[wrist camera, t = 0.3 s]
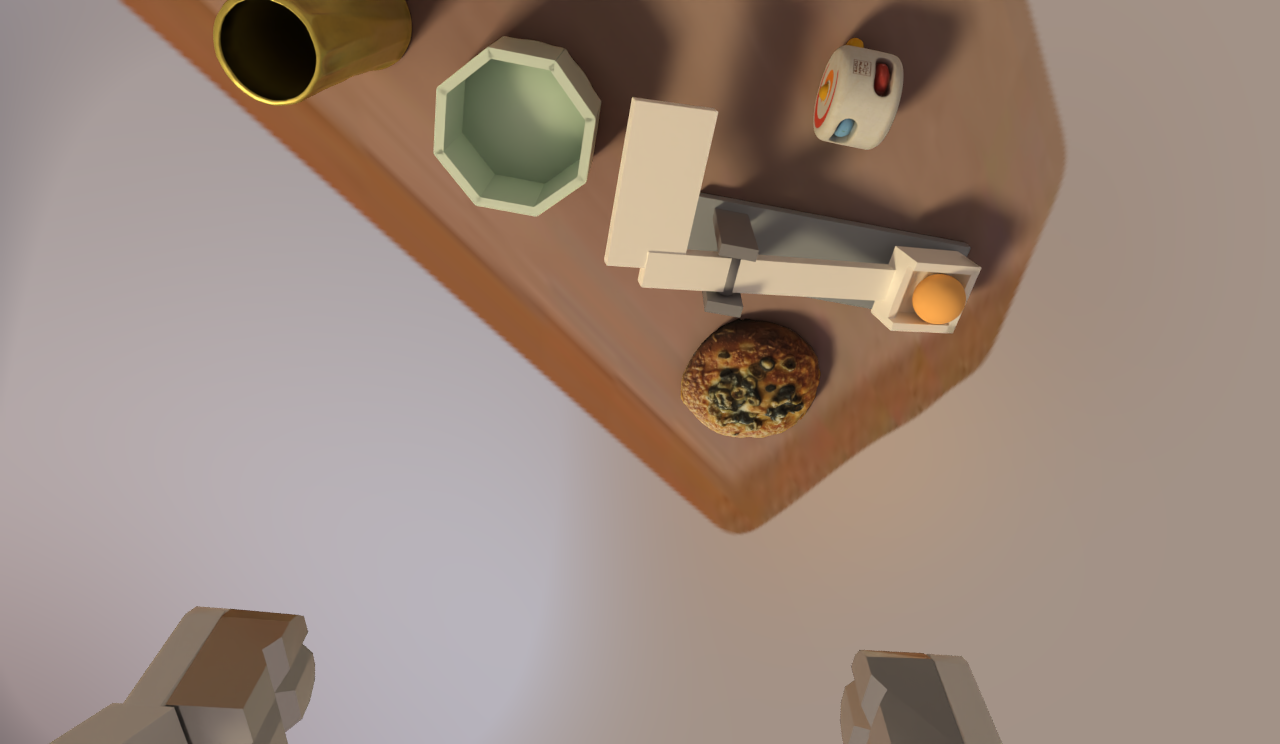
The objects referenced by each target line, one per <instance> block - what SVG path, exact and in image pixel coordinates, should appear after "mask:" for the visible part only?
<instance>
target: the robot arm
mask: <svg viewBox="0 0 1280 744" xmlns="http://www.w3.org/2000/svg"><path fill="white" fill-rule="evenodd" d="M307 633H308V630H307V626H306V623H305V619H304V616H300V615H292V614H281V613H270V612H259V611H248V610H237V609H223V608H210V607H198V606H197V607H195V608H194V609H192V610H191V611H189V612H188V613H187V614H185V615H184V617H183V618H182V619H181V621H180V622H179V624H178V625H177V627H176V628H175V630H174V631H173V632H172V634H171V635H170V637H169V638H168V640H167V641H166V642H165V644H164V645H163V647H162V648H161V650H160V651H159V653H158V654H157V655H156V657H155V658H154V660H153V661H152V663H151V664H150V666H149V667H148V668H147V670H146V671H145V673H144V674H143V676H142V677H141V678H140V680H139V681H138V683H137V684H136V686H135V687H134V689H133V690H132V692H131V693H130V694H129V696H128V697H127V699H126V700H125V702H124V703H123V704H121V703H120V704H119V703H112V704H110V705H109V706H107V707H106V708H104V709H102V710H101V711H99V712H98V713H96V714H95V715H93V716H91V717H90V718H88V719H87V720H85V721H84V722H82V723H81V724H79V725H77V726H76V727H74V728H73V729H72V730H70V731H68V732H66V733H65V734H63V735H62V736H60V737H59V738H57V739H56V740H54V741H52V742H51V743H50V744H288V742H287V739H286V734H285V732H286V731H287V730H289V729H290V728H291V727H293V726H294V725H295V724H296V723H297V722H299V721H300V720H301V719H302V718H303V715H304V713H305V710H306V708H307V706H308V704H309V701H310V698H311V694H312V689H313V685H314V681H315V662H314V657H313V653H312V652H311V651H310V650H309V649H308V648H307V647H306V646H304V645H303V644H302V643H303V641H304V639H305V637H306V635H307ZM851 667H852V672H853V675H854V681H853V682H851V683H850V684H849V685H847V686H845V689H844V693H843V697H842V700H841V714H840V715H841V716H840V724H841V732H842V739H843V744H1002V741H1001V739H1000V737H999V734H998V732H997V730H996V728H995V725H994V723H993V720H992V718H991V716H990V713H989V711H988V709H987V706H986V704H985V702H984V699H983V697H982V695H981V693H980V690H979V688H978V685H977V683H976V681H975V678H974V676H973V674H972V671H971V669H970V667H969V664H968V662H967V661H966V660H965V659H964V658H963V657H962V656H950V655H934V654H924V653H909V652H889V651H870V650H859V651H858V653H857V654H856V655H855V657H854V660H853V663H852V666H851Z"/></svg>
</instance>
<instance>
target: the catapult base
mask: <svg viewBox="0 0 1280 744" xmlns="http://www.w3.org/2000/svg"><path fill="white" fill-rule="evenodd" d="M895 246H902V247H914V248H926V249H937V250H949V251H958V252H960V253H961V254H963V255H964V256H965V257H967V255H968V253H969V251H970V248H971V247H970V246H969V245H968V244H967V243H965V242H959V241H954V240H949V239H944V238H938V237H933V236H928V235H922V234H917V233H912V232H907V231H901V230H896V229H891V228H885V227H880V226H875V225H870V224H864V223H859V222H854V221H848V220H843V219H838V218H833V217H827V216H822V215H817V214H811V213H806V212H801V211H796V210H790V209H785V208H780V207H775V206H769V205H764V204H759V203H753V202H748V201H743V200H738V199H732V198H727V197H722V196H716V195H711V194H706V193H701V192H700V194H699V198H698V203H697V207H696V212H695V216H694V220H693V225H692V229H691V233H690V238H689V242H688V247H687V249H690V250H703V251H717V252H718V254H719V255H720V256H725V257H731V258H736V259H742V260H747V261H753V262H756V259H757V256H758V255H770V256H783V257H797V258H810V259H823V260H837V261H850V262H864V263H877V264H889V262H890V259H891V257H892V254H893V251H894V248H895ZM702 293H703V302H704V310H705V312H711V313H716V314H722V315H727V316H733V317H739V318H740V317H741V313H742V309H743V304H742V299H741V295H740V293H733V295H730V296H726V295H722V294H719V293H718V292H715V291H702ZM808 298H814V299H819V300H825V301H830V302H836V303H842V304H847V305H853V306H858V307H864V308H869V309H872V307H873V305H874V302H875V301H873V300H855V299H838V298H820V297H808Z"/></svg>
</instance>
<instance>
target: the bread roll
mask: <svg viewBox="0 0 1280 744" xmlns="http://www.w3.org/2000/svg"><path fill="white" fill-rule="evenodd" d="M820 375H821V374H820V370H819V367H818V358H817V356H816V354H815V353H814V351H813V349H812V348H811V347H810V345H808V344H807V343H806V342H805V341H804V340H803V339H802V338H801V337H800V336H799V335H798V334H796V333H795V332H794V331H792V330H790V329H789V328H786V327H781V326H779V325H777V324H775V323H769V322H764V321H752V320H749V319H744V320H741V319H738V320H736V321H734V322H731V323H729V324H727V325H724V326H722V327H720V328H719V329H718V331H717V332H715V333H712V334H711V335H710V337H708V338H707V339H706V340H705V341H704V342H703V343H702V344H701V346H700V347H699V348H698V349H697V351H696V352H695V354H694V355H693V357H692V358H691V360H690V362H689V364H688V365H687V367H686V369H685V372H684V374H683V377H682V382H681V399H682V400H683V403H684V404H686V405H687V407H688V408H689V410H690V411H692V412H693V413H694V415H695V416H696V417H697V418H698V419H699V420H700V422H701V423H703V424H704V425H706V426H707V427H709V429H710V430H714V431H715V432H717V433H719V434H722V435H727V436H731V437H740V438H743V437H756V438H764V437H766V436H769V435H774V434H779V433H782V432H783V431H786V430H787V429H788V428H790V427H792V426H794V425H795V424H796V423H797V421H798V420H799V419H802V417H803V416H804V415H805V413H806V412H807V409H808V408H809V407H810V405H811V403H812V401H813V400H814V398H815V396H816V389H817V386H818V384H819V378H820Z"/></svg>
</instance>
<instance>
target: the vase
mask: <svg viewBox="0 0 1280 744" xmlns="http://www.w3.org/2000/svg"><path fill="white" fill-rule="evenodd" d="M411 32H412V22H411V16H410V12H409V9H408V6H407V3H406V1H405V0H227V1H226V2H225V3H224V4H223V6H222V8H221V9H220V11H219V13H218V15H217V17H216V19H215V23H214V29H213V41H214V48H215V52H216V56H217V58H218V60H219V62H220V64H221V66H222V68H223V70H224V71H225V73H226V74H227V76H228V77H229V78H230V79H231V81H232V82H233V83H234V84H235V85H236V86H237V87H238V88H239V89H241V90H242V91H243V92H244V93H246V94H247V95H248V96H250V97H251V98H253V99H255V100H257V101H259V102H262V103H265V104H269V105H276V106H281V105H291V104H296V103H299V102H302V101H303V100H305V99H307V98H309V97H311V96H313V95H315V94H317V93H319V92H321V91H323V90H325V89H327V88H329V87H331V86H334V85H336V84H338V83H341V82H343V81H345V80H347V79H348V78H350V77H352V76H355V75H359V74H363V73H365V72H368V71H373V70H381V69H385V68H387V67H389V66H391V65H393V64H395V63H396V62H397V61H399V60H400V59H401V57H402V56H403V54H404V53H405V51H406V49H407V47H408V45H409V43H410V39H411Z"/></svg>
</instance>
